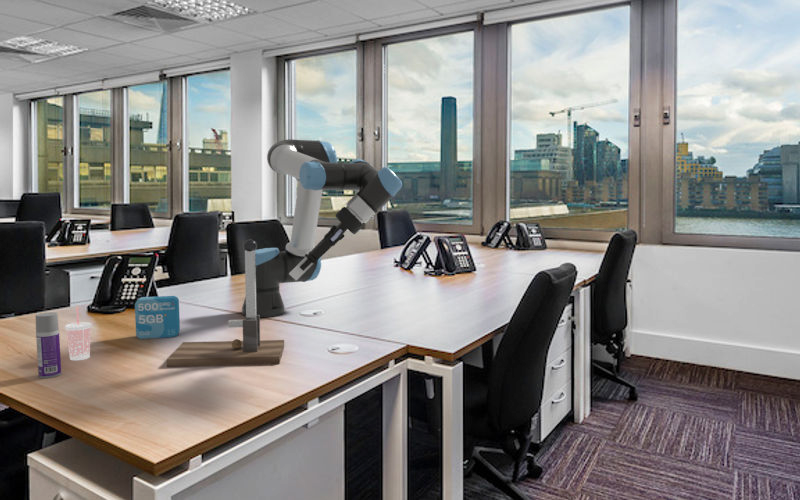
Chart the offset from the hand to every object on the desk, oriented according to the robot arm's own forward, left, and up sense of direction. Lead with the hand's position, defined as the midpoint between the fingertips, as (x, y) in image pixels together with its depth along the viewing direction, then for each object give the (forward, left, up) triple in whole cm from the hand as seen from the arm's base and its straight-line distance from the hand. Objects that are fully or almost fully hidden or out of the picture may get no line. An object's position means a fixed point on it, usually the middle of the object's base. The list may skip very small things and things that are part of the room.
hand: (292, 276), depth 152 cm
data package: (-24, -42, -22) cm, 53 cm away
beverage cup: (-3, -56, -22) cm, 60 cm away
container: (+11, -57, -22) cm, 62 cm away
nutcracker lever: (-1, -13, -14) cm, 19 cm away
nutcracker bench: (-1, -17, -22) cm, 28 cm away
